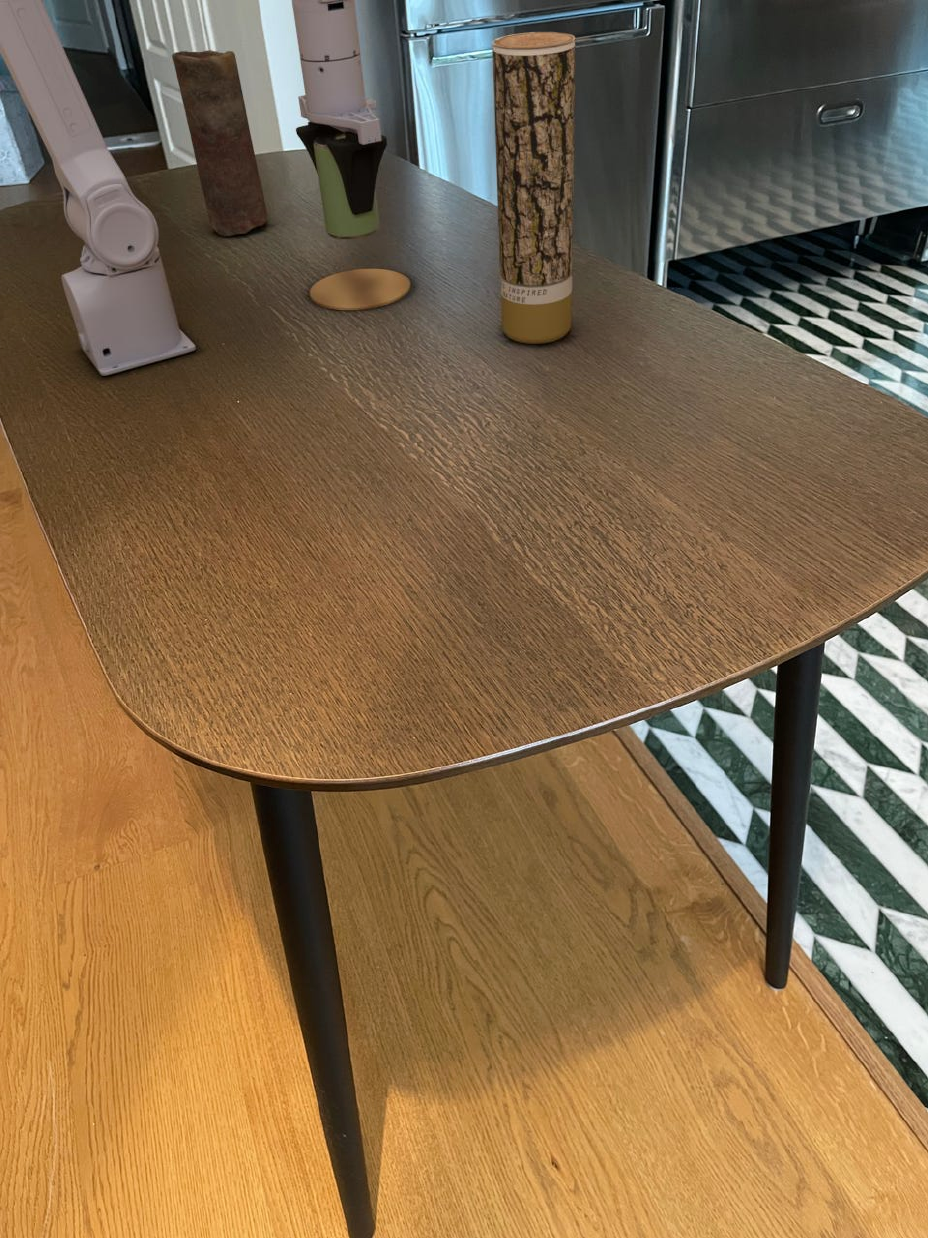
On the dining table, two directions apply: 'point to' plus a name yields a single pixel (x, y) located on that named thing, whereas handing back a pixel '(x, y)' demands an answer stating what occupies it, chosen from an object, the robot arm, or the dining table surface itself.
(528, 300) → the paper tube
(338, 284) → the coaster
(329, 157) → the can
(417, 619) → the dining table surface
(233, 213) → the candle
